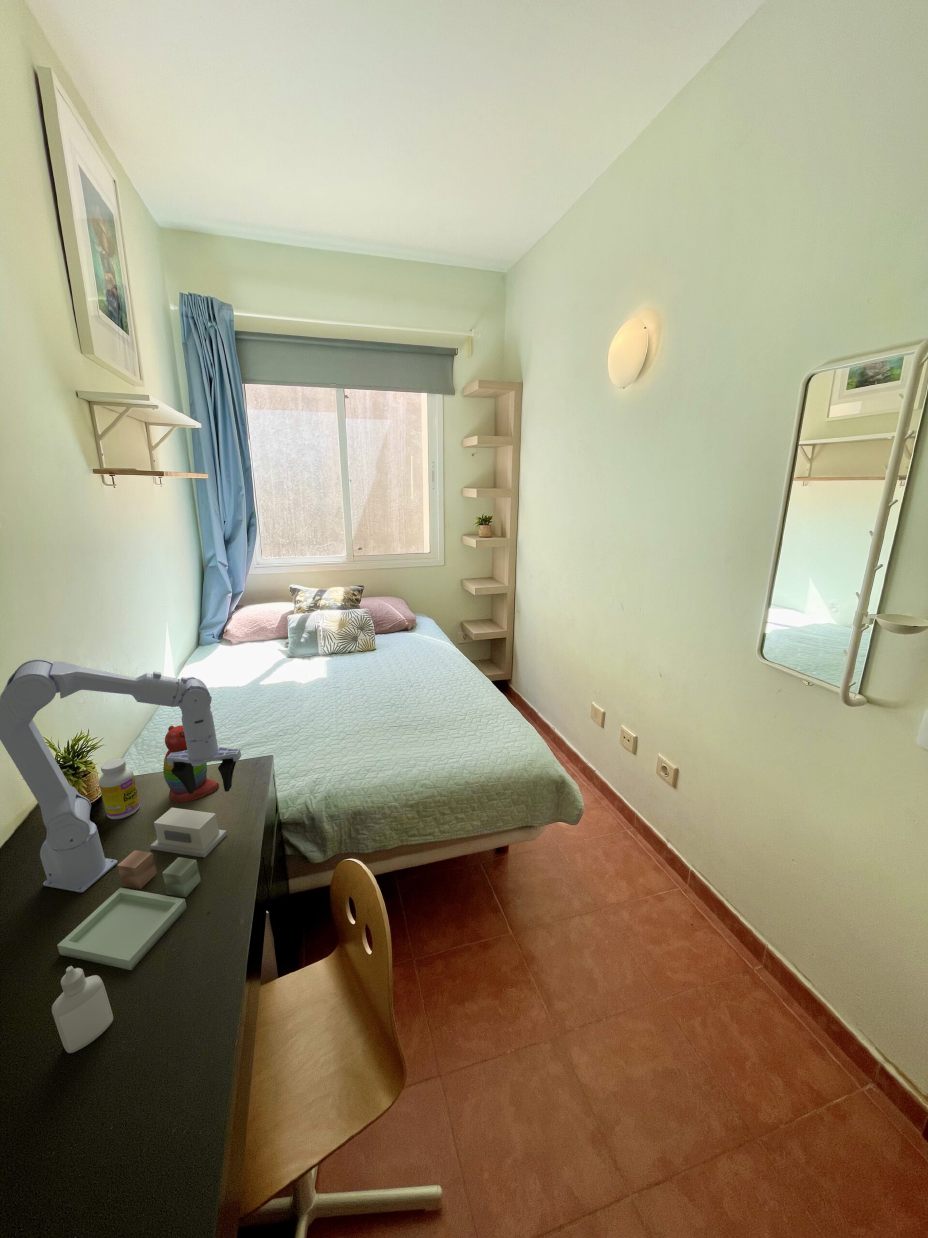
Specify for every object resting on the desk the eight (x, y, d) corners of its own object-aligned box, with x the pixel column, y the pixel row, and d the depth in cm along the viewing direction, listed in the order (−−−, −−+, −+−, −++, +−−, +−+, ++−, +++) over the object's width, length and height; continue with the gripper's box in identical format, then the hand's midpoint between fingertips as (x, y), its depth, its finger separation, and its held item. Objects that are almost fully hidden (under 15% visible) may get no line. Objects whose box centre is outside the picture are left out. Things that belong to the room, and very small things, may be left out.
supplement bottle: (128, 820, 113) (116, 771, 109) (100, 820, 113) (87, 772, 110) (147, 802, 119) (136, 755, 116) (120, 802, 120) (108, 755, 116)
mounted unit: (151, 849, 104) (145, 825, 102) (176, 827, 111) (171, 804, 109) (204, 857, 101) (199, 833, 100) (227, 834, 108) (222, 811, 106)
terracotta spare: (122, 886, 95) (117, 865, 93) (139, 870, 98) (134, 850, 97) (140, 889, 94) (135, 868, 92) (156, 873, 98) (152, 853, 96)
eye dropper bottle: (110, 1039, 69) (90, 974, 65) (60, 1059, 66) (37, 992, 63) (116, 1009, 72) (98, 946, 69) (69, 1027, 70) (48, 963, 67)
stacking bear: (222, 787, 125) (211, 724, 120) (181, 809, 117) (167, 742, 112) (200, 774, 131) (189, 713, 126) (160, 793, 123) (146, 729, 118)
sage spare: (167, 894, 93) (162, 872, 91) (183, 878, 96) (178, 857, 95) (185, 897, 92) (180, 876, 90) (200, 881, 96) (196, 860, 94)
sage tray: (60, 954, 81) (57, 945, 80) (122, 896, 92) (120, 887, 92) (131, 970, 78) (128, 960, 78) (186, 908, 89) (184, 899, 89)
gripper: (155, 746, 100) (167, 803, 104) (228, 742, 101) (238, 799, 105) (171, 729, 107) (182, 784, 110) (240, 726, 108) (249, 779, 112)
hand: (210, 790), depth 108 cm, fingers open, 7 cm apart
